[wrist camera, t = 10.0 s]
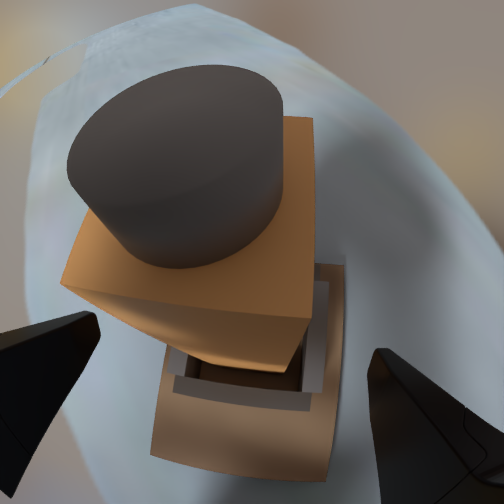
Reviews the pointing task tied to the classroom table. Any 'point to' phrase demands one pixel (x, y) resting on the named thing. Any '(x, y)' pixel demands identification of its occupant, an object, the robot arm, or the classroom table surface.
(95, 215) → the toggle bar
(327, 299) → the keeper
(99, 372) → the classroom table surface
